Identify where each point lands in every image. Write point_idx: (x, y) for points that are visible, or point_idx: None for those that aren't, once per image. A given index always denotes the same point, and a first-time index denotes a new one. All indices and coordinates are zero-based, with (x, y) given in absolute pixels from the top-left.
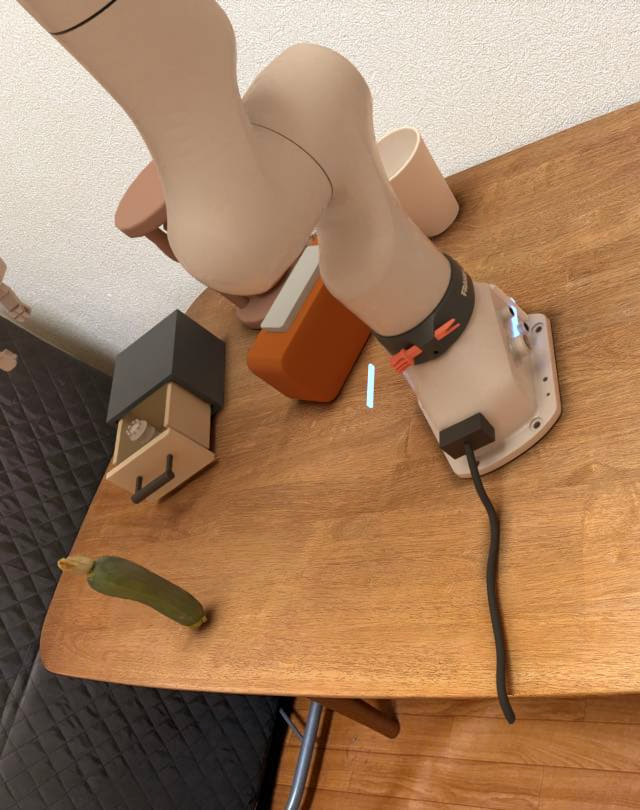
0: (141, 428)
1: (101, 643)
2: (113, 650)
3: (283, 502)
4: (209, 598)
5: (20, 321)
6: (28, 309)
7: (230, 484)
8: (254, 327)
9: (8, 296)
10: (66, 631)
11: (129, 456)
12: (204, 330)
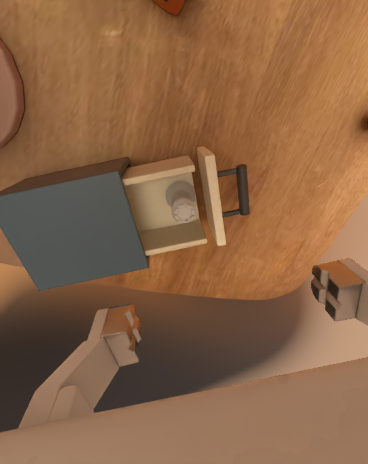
0: (188, 202)
1: (314, 242)
2: (328, 226)
3: (305, 25)
4: (350, 122)
5: (140, 330)
6: (110, 312)
7: (238, 121)
8: (19, 121)
9: (79, 382)
10: (282, 282)
11: (189, 235)
12: (14, 185)
